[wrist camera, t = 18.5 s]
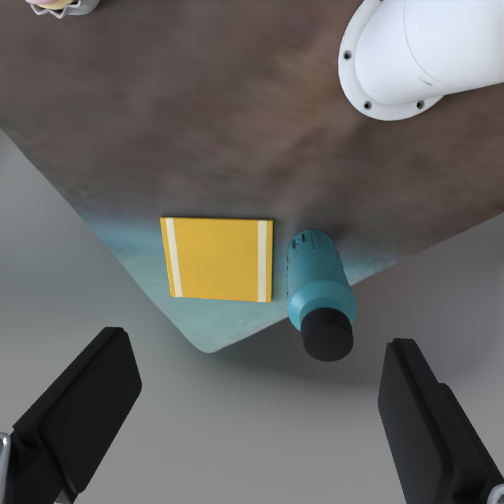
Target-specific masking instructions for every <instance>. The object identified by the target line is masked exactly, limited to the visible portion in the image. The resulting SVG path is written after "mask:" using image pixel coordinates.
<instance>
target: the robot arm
mask: <svg viewBox="0 0 504 504" xmlns="http://www.w3.org/2000/svg"><path fill="white" fill-rule="evenodd" d="M345 54H348V56H349V57H348V59H345V58H344V55H345ZM338 67H339V77H340V82H341V86H342V88H343V90H344V93H345V95H346V97H347V98H348V100H349V101H350V102H351V104H352V105H353V106H354V107H355V108H356V109H357V110H358V111H360V112H361V113H363V114H365V115H367V116H368V117H371V118H375V119H378V120H387V121H391V120H400V119H405V118H409V117H412V116H414V115H417V114H419V113H421V112H423V111H425V110H426V109H428V108H430V107H431V106H432V105H434V104H435V103H436V102H437V101H438V100H440V99H441V98H442V97H443V96H444V95H447V94H452V93H457V92H462V91H466V90H471V89H476V88H481V87H485V86H489V85H493V84H498V83H501V82H504V0H383V1H380V0H365V1H364V2H363V3H362V4H361V6H360V7H359V8H358V9H357V11H356V12H355V14H354V15H353V17H352V19H351V20H350V22H349V24H348V26H347V29H346V31H345V33H344V36H343V39H342V42H341V46H340V51H339V59H338ZM366 103H367V104H368V108H367V109H366V108H365V107H364V105H365V104H366ZM417 103H420V106H419V107H417ZM141 389H142V382H141V378H140V375H139V371H138V368H137V364H136V361H135V357H134V354H133V350H132V347H131V343H130V340H129V336H128V334H127V332H125V331H124V329H123V328H121V327H105V328H104V329H103V330H102V331H101V332H100V333H99V334H98V335H97V336H96V337H95V338H94V339H93V340H92V342H90V344H89V345H88V346H87V347H86V348H85V349H84V350H83V351H82V352H81V353H80V355H78V356H77V358H76V359H75V360H74V361H73V362H72V363H71V364H70V365H69V366H68V367H67V369H65V370H64V372H63V373H62V374H61V375H60V376H59V377H58V378H57V379H56V380H55V381H54V382H53V383H52V384H51V385H50V387H49V388H48V389H47V390H46V391H45V392H44V393H43V394H42V395H41V396H40V397H39V398H38V399H37V401H36V402H35V403H34V404H33V405H32V406H31V407H30V408H29V409H28V411H26V412H25V413H24V415H23V416H22V417H21V418H20V419H19V420H18V421H17V422H16V423H15V424H14V425H13V428H14V431H13V432H12V433H11V434H10V436H9V435H8V434H7V433H3V432H0V504H53V503H54V502H55V501H56V503H62V504H73V503H74V501H75V499H76V497H77V496H78V494H79V493H81V492H83V491H84V490H85V488H86V487H87V485H88V484H89V482H90V480H91V478H92V477H93V475H94V473H95V471H96V470H97V468H98V466H99V464H100V463H101V461H102V459H103V457H104V455H105V454H106V452H107V450H108V449H109V447H110V445H111V443H112V441H113V440H114V438H115V436H116V435H117V433H118V431H119V429H120V428H121V426H122V424H123V422H124V420H125V419H126V417H127V415H128V414H129V412H130V410H131V408H132V406H133V405H134V403H135V401H136V399H137V398H138V396H139V394H140V392H141ZM378 408H379V413H380V416H381V419H382V423H383V426H384V429H385V432H386V436H387V439H388V443H389V446H390V449H391V453H392V456H393V459H394V463H395V466H396V469H397V473H398V476H399V479H400V483H401V486H402V489H403V493H404V496H405V500H406V503H407V504H504V478H503V476H502V475H501V473H500V471H499V470H498V468H497V466H496V465H495V463H494V461H493V460H492V458H491V456H490V455H489V453H488V451H487V449H486V448H485V446H484V444H483V443H482V441H481V439H480V438H479V436H478V435H477V433H476V431H475V429H474V428H473V426H472V424H471V423H470V421H469V419H468V417H467V416H466V414H465V412H464V411H463V409H462V407H461V406H460V404H459V402H458V401H457V399H456V397H455V396H454V394H453V392H452V391H451V389H450V388H449V387H448V386H447V385H446V384H444V383H438V381H437V379H436V378H435V376H434V374H433V373H432V371H431V369H430V367H429V365H428V363H427V362H426V360H425V358H424V357H423V354H422V353H421V351H420V349H419V347H418V346H417V344H416V342H415V341H414V340H413V339H400V338H395V339H393V341H392V343H387V346H386V353H385V359H384V365H383V371H382V377H381V383H380V389H379V396H378Z"/></svg>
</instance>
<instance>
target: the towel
mask: <svg viewBox="0 0 504 504" xmlns="http://www.w3.org/2000/svg"><path fill="white" fill-rule="evenodd" d="M160 221H161V228H162V235H163V242H164V249H165V256H166V264H167V271H168V278H169V285H170V292H171V296H175V297H191V298H208V299H224V300H240V301H257V302H271V297H272V248H273V220H261V219H223V218H187V217H161V218H160Z"/></svg>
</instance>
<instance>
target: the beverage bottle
mask: <svg viewBox="0 0 504 504" xmlns="http://www.w3.org/2000/svg"><path fill="white" fill-rule="evenodd" d="M289 243H290V245H289V247H288V248H289V249H287V250H288V256H287V258H288V259H287V260H288V262H287V263H288V267H287V269H288V276H287V277H288V285H287V286H288V291H287V295H288V297H287V298H289V301H288V302H289V303H288V314H289V318H290V320H291V322H292V323H293V325H294V326H295V327H296V328H297V329H298V330H299V331H301V336H302V339H303V345H304V348H305V350H306V351H307V353H308V354H309V355H310V356H312V357H313V358H315V359H317V360H320V361H325V362H332V361H337V360H340V359H342V358H344V357H345V356H346V355H348V354H349V353H350V351H351V349H352V347H353V335H352V326H351V325H352V323H353V322H354V320H355V318H356V315H357V303H356V299H355V297H354V295H353V294H352V291H351V288H350V286H349V283H348V281H347V278H346V276H345V273H344V270H343V268H344V267H342V264H341V261H340V259H341V258H339V256H338V252H337V250H338V249H337V250H336V248H335V245H334V243H333V241H332V239H331V238H330V237H329V236H328V235H327V234H325V232H321V231H319V230H316V229H309V230H304V231H302V232H299V233H298V234H296V236H295V237H294V238H293V239H292V240H291V242H289Z"/></svg>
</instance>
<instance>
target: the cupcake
mask: <svg viewBox="0 0 504 504" xmlns="http://www.w3.org/2000/svg"><path fill="white" fill-rule="evenodd" d="M26 1H28V2H29V3H30V5H31V7H32V8H33V10H34V12H35V13H36V14H37V15H42V14H46V13H50V12H51V13H52V14H53V15H55V16H56V17H58V18H60V19H61V18H63V17H64V16H66V15H68V14H71V15H85V14H88V13H90V12H92V11H93V10H94V9H95V8H96V6H97V5H98V3H99V2H100V0H26Z"/></svg>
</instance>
